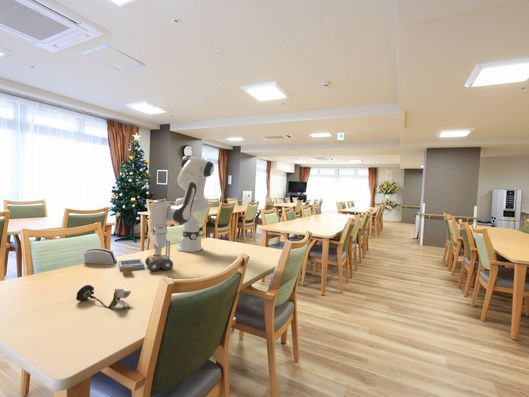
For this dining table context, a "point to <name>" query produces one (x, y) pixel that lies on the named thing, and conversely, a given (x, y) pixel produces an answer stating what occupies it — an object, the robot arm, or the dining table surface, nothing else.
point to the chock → (127, 269)
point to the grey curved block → (99, 256)
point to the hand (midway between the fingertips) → (157, 252)
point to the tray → (135, 264)
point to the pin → (156, 251)
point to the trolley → (160, 260)
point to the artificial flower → (87, 292)
